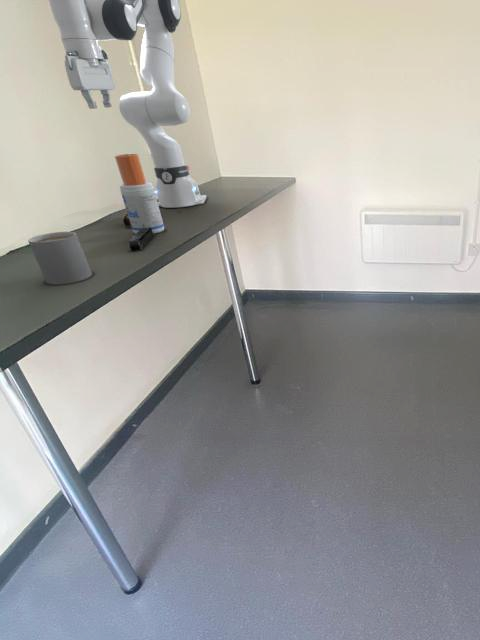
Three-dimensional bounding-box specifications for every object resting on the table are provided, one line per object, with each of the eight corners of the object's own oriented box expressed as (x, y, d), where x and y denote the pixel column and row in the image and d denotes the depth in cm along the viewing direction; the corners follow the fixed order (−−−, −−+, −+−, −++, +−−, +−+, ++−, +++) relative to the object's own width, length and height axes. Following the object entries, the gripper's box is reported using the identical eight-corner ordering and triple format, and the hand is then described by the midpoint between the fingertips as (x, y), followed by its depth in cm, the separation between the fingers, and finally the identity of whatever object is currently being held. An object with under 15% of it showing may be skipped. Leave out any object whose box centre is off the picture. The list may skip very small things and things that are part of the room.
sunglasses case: (151, 224, 165) (135, 207, 161) (136, 236, 166) (119, 220, 162) (160, 213, 180) (145, 198, 176) (146, 225, 181) (131, 209, 177)
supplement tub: (127, 234, 156) (111, 185, 148) (149, 227, 163) (135, 180, 155) (150, 236, 153) (134, 186, 145) (172, 229, 160) (158, 181, 152)
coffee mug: (84, 282, 116) (68, 240, 111) (39, 286, 115) (20, 244, 109) (101, 266, 127) (86, 226, 122) (60, 269, 126) (43, 230, 120)
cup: (129, 182, 153) (120, 154, 148) (149, 181, 153) (141, 153, 148) (120, 185, 147) (110, 156, 143) (141, 184, 147) (132, 155, 143)
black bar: (140, 251, 139) (137, 240, 137) (131, 251, 138) (127, 241, 136) (154, 235, 153) (151, 226, 152) (146, 236, 153) (142, 226, 151)
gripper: (75, 49, 131) (94, 108, 139) (110, 54, 148) (125, 106, 156) (51, 50, 131) (72, 109, 138) (89, 54, 148) (106, 107, 156)
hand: (101, 108), depth 147 cm, fingers open, 8 cm apart
